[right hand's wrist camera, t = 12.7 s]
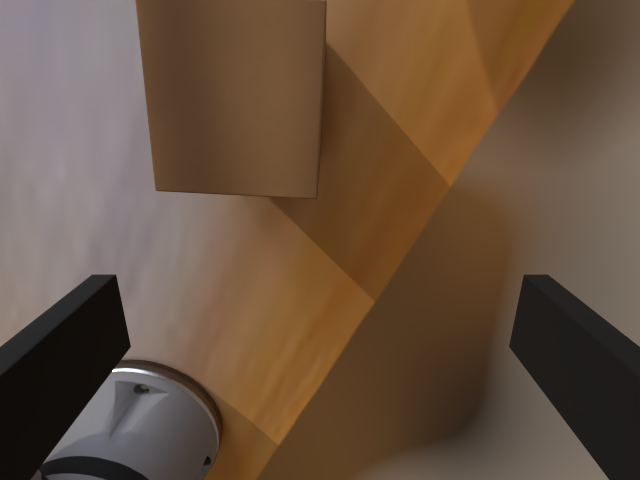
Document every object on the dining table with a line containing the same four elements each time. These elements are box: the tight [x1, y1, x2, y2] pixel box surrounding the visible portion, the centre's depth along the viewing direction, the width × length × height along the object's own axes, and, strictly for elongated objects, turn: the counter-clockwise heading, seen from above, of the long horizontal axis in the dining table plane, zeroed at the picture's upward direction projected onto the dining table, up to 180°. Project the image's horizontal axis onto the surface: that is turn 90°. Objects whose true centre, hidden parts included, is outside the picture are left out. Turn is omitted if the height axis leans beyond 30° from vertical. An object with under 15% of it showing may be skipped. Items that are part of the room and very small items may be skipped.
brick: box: [136, 0, 327, 199], centre depth 22 cm, size 7×8×12 cm
